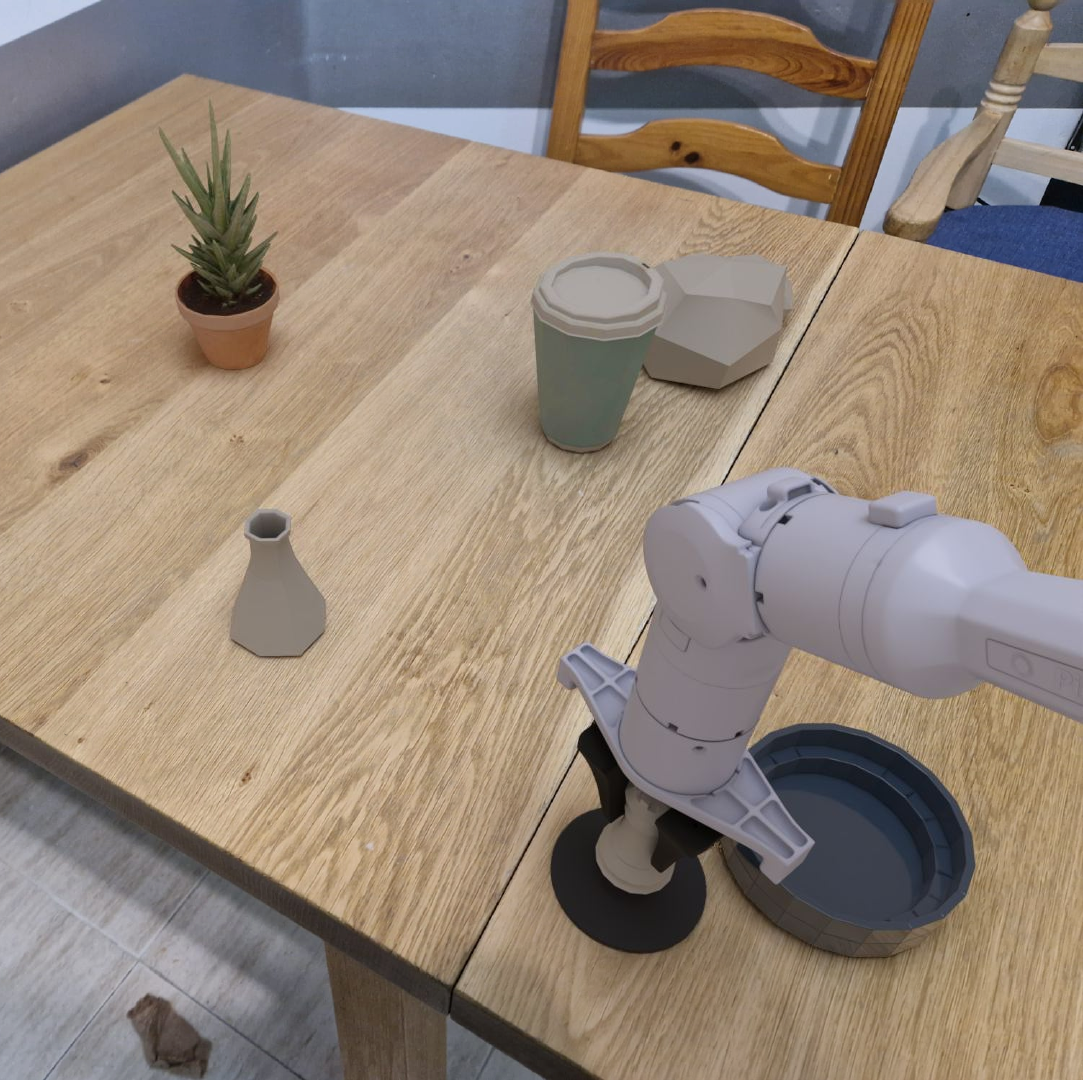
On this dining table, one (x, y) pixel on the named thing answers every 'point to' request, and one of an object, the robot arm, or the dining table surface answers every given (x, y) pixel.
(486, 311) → the dining table surface
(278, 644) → the flask
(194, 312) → the potted plant
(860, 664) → the robot arm
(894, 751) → the bowl
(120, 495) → the dining table surface
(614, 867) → the rook chess piece
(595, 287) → the disposable coffee cup
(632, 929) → the coaster
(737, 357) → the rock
